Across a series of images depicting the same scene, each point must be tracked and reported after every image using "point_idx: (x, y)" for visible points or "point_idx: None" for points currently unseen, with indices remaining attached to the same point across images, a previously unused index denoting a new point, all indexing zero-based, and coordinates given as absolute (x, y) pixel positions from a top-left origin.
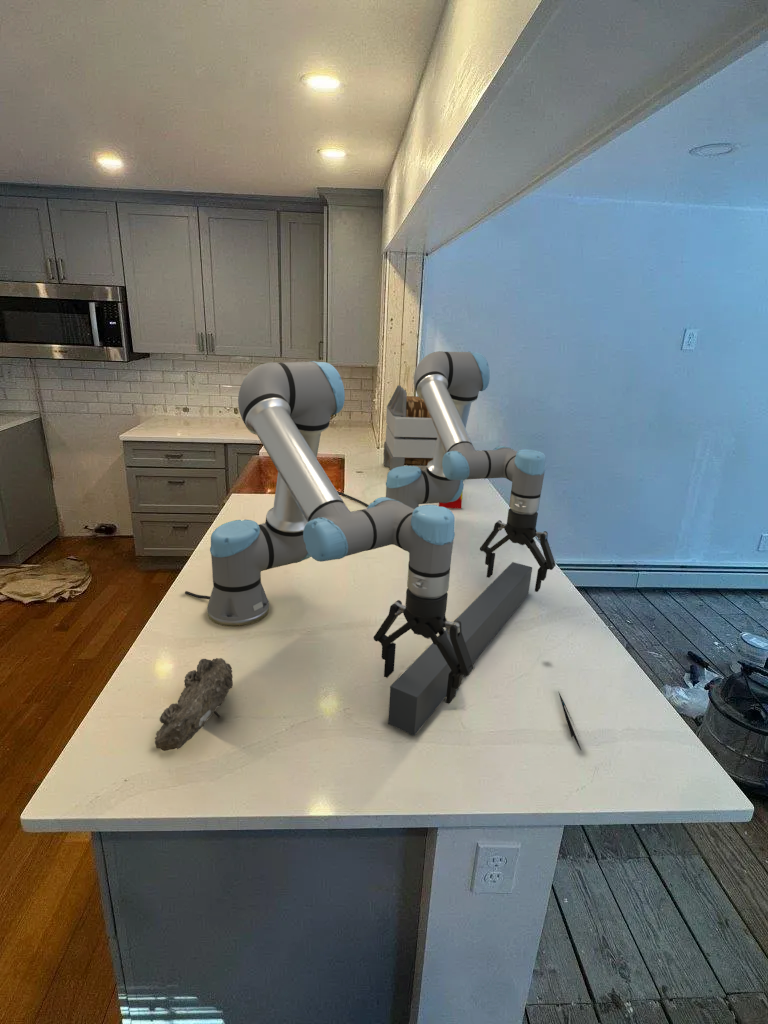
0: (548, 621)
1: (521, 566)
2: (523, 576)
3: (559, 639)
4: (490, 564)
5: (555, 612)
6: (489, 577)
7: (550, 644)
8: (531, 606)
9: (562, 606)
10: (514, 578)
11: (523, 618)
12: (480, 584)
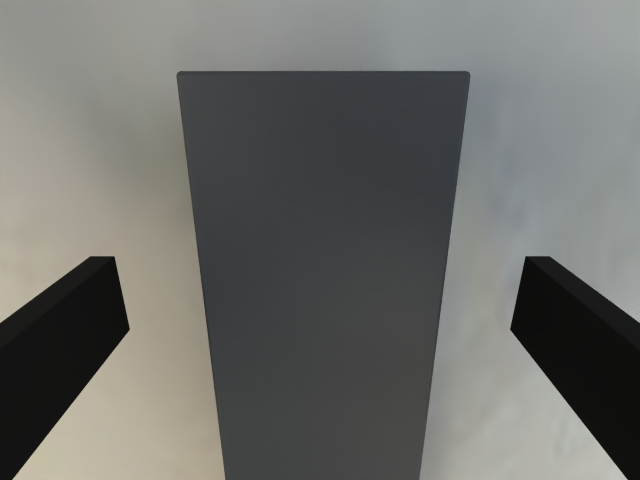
0: None
1: (333, 148)
2: (426, 376)
3: None
4: (48, 428)
5: (591, 208)
6: (127, 320)
7: (579, 472)
8: None
9: (635, 102)
10: (361, 452)
11: (435, 358)
12: (66, 129)
